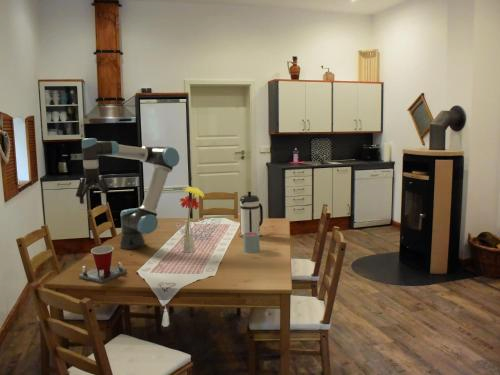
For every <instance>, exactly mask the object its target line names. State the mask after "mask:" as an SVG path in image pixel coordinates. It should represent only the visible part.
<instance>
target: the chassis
mask: <svg viewBox="0 0 500 375" xmlns="http://www.w3.org/2000/svg"><path fill="white" fill-rule="evenodd" d="M117 266H118V267H115V266H111V267H110V271H109V272H108V273H104V270H103V269H101V270H99V272H100V273H98V271H97V267H96V268H93V269H90V270H88V269H87V265H83V266H81V269H82V270H81V271H82V273H80V274H78V278H79V279H83V280H86V281H87V280H88V281H91V282H96V283H99V282H100V283H101V284H103V283H105V282H108V281H110V280H113V279H115V278H118V277H120V276H122V275H124V274H127V271H128V270H127V269H125V268H123V266H124V265H123V262H122V261H120V262H117ZM100 283H99V284H100Z"/></svg>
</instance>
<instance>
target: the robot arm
mask: <svg viewBox="0 0 500 375" xmlns="http://www.w3.org/2000/svg"><path fill="white" fill-rule="evenodd" d="M81 152H82V165H83V175H84V177H83V178H82V177H80V178H79V184H78V187H77V191H76V193H75V197H76V198H78V199H79V204H80V207H81V210H84V211H86V210H87V204H86V201H87V200H86V197H85V196H86V194H87V192H88V190H89V188H90V187H91V186H96V187H97V188H98V190H100V192H101V193H100V198H101V200H100V201H101V206H107V194H108V193H109V192H110V188H109V186H108V184H107V182H106V181H105V177H104V175H101V174H100V168H99V166H100V165H99V157H100V156H101V157H102V156H105V157H113V158H114V157H115V158H120V159H121V158H122V159H129V160H138V161H140V162H142V163H146V164H150V165H151V164H152V165H153V168H154V170H153V173H152V175H151V178H150V182H149V184H148V187H147V189H146V192H145V196H144V199H143V202H142V204H141V206H139V207H136V208H128V209H123V210H121V212H120V224H121V225H120V228H121V236H120V240H119V248H121V249H122V250H124V249H125V250H134V249H139V248H142V247H144V246H145V245H146V241H145V239H144V236H143V235H144V234H147V235H149V234H151V233H153V232H154V231H155V230H156V229H157V227H158V225H159V220H158V218H157V215H158V212H157V209H158V205H159V202H160V199H161V197H162V192H163V191H164V186H165V185H166V182H167V178H168V175H169V173H171V172H172V171H173V168H174V167H176V166H177V165H178V164H179V163H180V153H179V152H178V150H177V149H176V148H174V147H170V146H141V147H139V146H131V145H124V144H119V143H118V142H117V141H114V140H110V141H105V140H103V141H102V140H101V141H99V140H98V139H97V138H95V137H94V138H93V137H90V138H83V139H82V140H81Z"/></svg>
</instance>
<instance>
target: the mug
mask: <svg viewBox="0 0 500 375" xmlns="http://www.w3.org/2000/svg"><path fill="white" fill-rule="evenodd" d="M259 235H260V232H259V233H257V232H246V233H244V234H243V235H242V236H243V237H242V238H243V252H245V253H248V254H255V253H259V252H260V250H261V249H260V246H261V245H260V236H259Z"/></svg>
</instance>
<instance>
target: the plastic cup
mask: <svg viewBox="0 0 500 375" xmlns="http://www.w3.org/2000/svg"><path fill="white" fill-rule="evenodd" d="M114 249H115V247H113V246H112V245H99V246H95V247H93V248H91V250H90V252H91V254H92V257H93V260H94V263H95V266H96V268H97V271H98V273H100V272H99V270H101V269H103V270H104V273H108V272H109V271H110V267H112V257H113V252H114Z"/></svg>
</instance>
